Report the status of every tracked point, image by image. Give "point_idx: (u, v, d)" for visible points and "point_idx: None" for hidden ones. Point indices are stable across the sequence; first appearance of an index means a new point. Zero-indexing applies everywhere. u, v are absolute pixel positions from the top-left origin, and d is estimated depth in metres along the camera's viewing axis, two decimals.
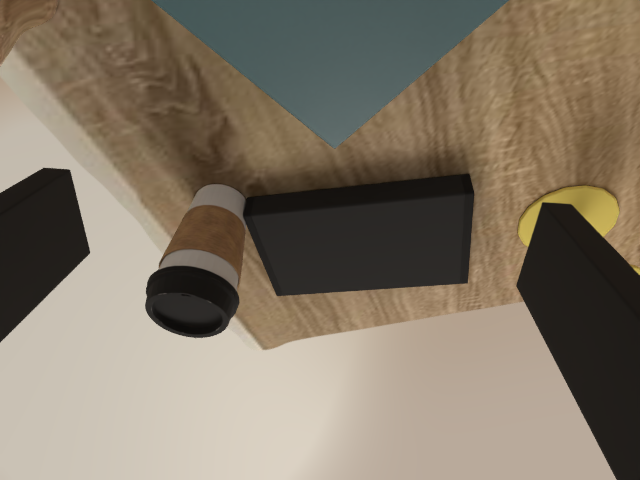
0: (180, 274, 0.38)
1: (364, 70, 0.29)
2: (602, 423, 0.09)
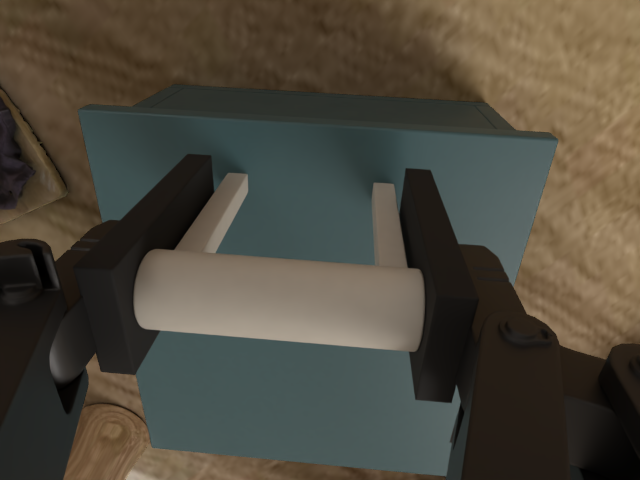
0: None
1: None
2: None
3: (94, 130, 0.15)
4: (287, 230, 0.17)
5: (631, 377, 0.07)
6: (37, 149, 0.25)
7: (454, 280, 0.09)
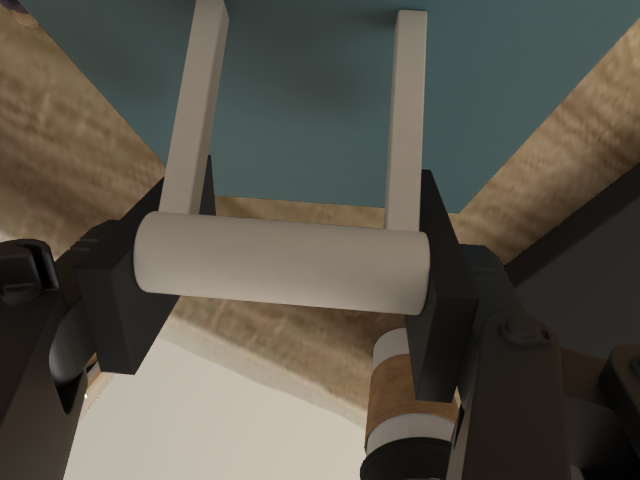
0: (385, 457, 0.29)
1: None
2: (412, 340, 0.10)
3: None
4: (288, 56, 0.13)
5: (632, 377, 0.07)
6: None
7: (454, 280, 0.09)
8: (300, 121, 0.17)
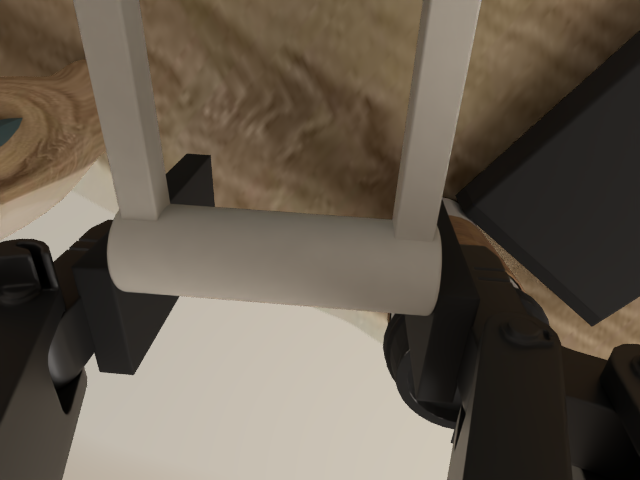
0: None
1: None
2: (412, 340, 0.10)
3: None
4: None
5: (632, 377, 0.07)
6: None
7: (455, 280, 0.09)
8: None
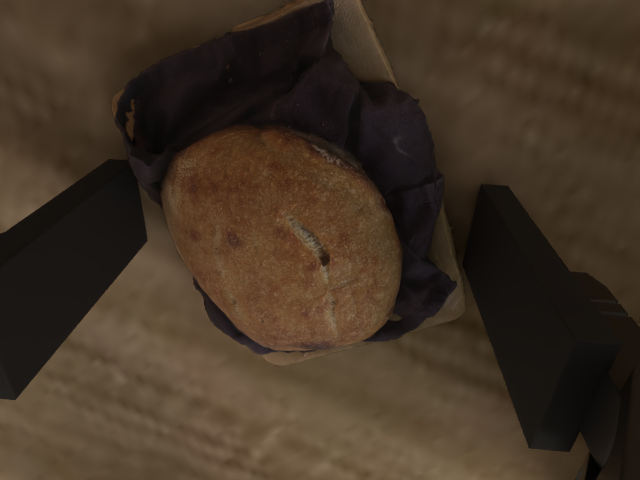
0: None
1: None
2: (513, 377, 0.10)
3: None
4: None
5: None
6: (451, 241, 0.14)
7: (586, 320, 0.08)
8: None
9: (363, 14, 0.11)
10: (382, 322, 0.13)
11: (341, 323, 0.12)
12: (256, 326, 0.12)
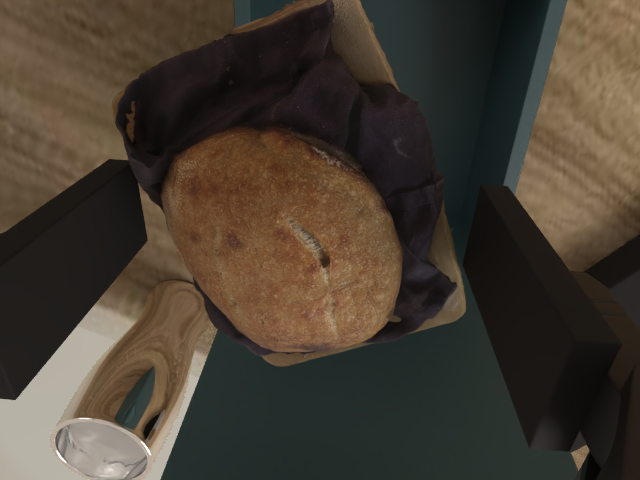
0: None
1: None
2: (513, 377, 0.10)
3: None
4: None
5: None
6: (451, 243, 0.14)
7: (586, 320, 0.08)
8: None
9: (363, 16, 0.11)
10: (382, 324, 0.13)
11: (341, 325, 0.12)
12: (256, 327, 0.12)
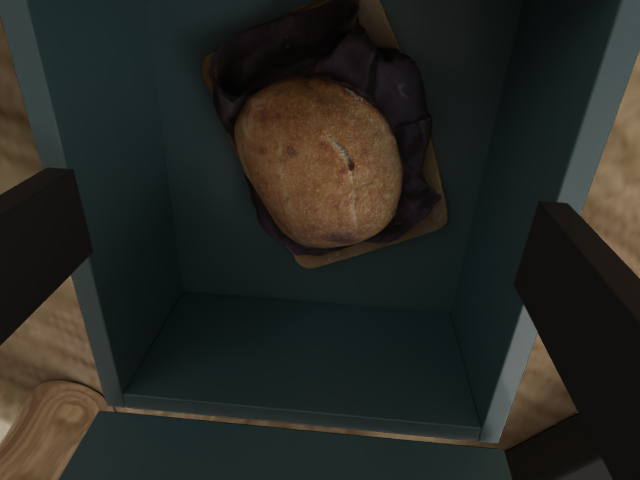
0: None
1: None
2: (597, 420, 0.09)
3: None
4: None
5: None
6: (437, 167, 0.19)
7: None
8: None
9: (379, 2, 0.16)
10: (388, 219, 0.18)
11: (360, 216, 0.17)
12: (301, 217, 0.18)
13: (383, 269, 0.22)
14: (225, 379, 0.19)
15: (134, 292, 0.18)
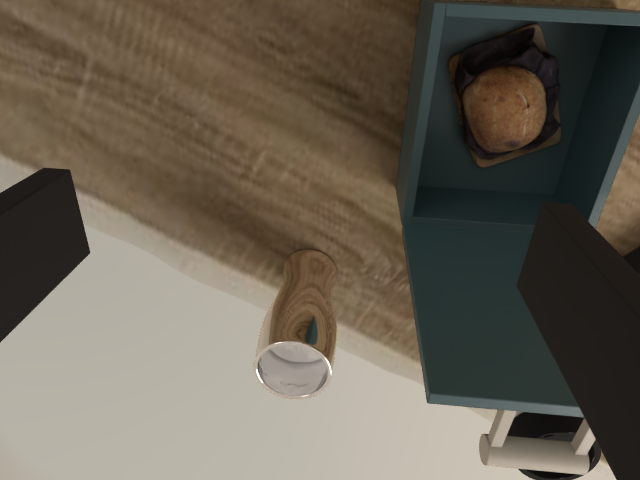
0: (529, 419, 0.41)
1: None
2: (602, 422, 0.09)
3: None
4: None
5: None
6: None
7: None
8: None
9: (541, 32, 0.36)
10: (538, 134, 0.38)
11: (527, 131, 0.37)
12: (499, 132, 0.37)
13: (520, 169, 0.42)
14: (456, 213, 0.39)
15: None
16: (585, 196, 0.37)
